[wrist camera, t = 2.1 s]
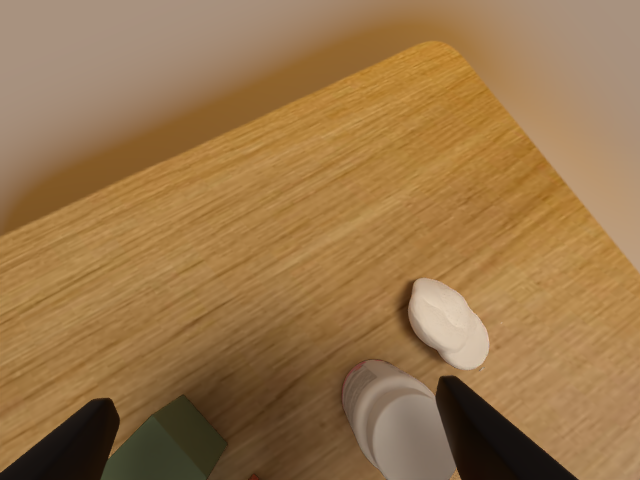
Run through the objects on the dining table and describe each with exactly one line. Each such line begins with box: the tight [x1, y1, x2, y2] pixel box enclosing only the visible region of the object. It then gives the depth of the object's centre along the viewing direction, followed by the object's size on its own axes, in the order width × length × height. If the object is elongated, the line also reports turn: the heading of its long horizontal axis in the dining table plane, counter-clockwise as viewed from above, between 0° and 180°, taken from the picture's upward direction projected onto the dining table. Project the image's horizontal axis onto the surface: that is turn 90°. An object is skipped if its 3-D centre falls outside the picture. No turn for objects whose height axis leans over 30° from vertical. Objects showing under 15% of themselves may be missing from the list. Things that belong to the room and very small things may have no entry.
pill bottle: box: [342, 360, 456, 480], centre depth 18 cm, size 5×5×8 cm
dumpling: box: [408, 278, 489, 372], centre depth 21 cm, size 7×5×4 cm
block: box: [101, 395, 227, 480], centre depth 18 cm, size 4×4×4 cm
